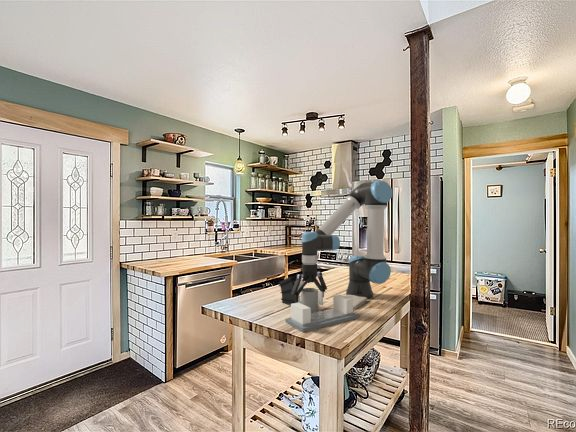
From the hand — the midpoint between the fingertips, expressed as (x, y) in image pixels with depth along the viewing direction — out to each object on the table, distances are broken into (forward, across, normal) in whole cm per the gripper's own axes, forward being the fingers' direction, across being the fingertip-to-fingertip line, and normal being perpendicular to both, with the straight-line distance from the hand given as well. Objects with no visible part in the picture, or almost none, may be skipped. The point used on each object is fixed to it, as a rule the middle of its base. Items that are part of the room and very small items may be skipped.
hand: (309, 306), depth 147 cm
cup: (+2, 0, 0) cm, 2 cm away
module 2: (-1, -9, +14) cm, 17 cm away
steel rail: (0, +3, +14) cm, 14 cm away
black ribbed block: (+2, +3, -14) cm, 14 cm away
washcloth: (+2, -26, +2) cm, 26 cm away
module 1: (-1, +15, +14) cm, 21 cm away
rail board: (+2, +3, +14) cm, 14 cm away
